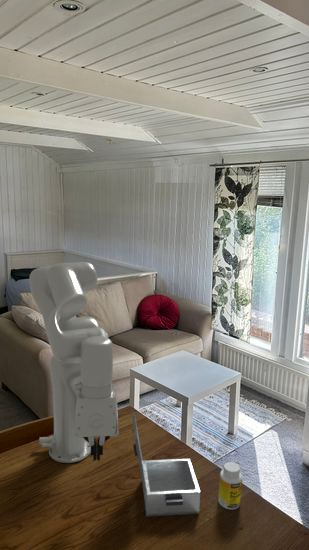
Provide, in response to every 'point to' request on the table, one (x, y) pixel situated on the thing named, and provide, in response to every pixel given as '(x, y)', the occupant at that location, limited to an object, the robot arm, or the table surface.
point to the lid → (138, 452)
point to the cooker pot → (170, 487)
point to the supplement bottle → (230, 486)
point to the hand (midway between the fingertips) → (96, 457)
